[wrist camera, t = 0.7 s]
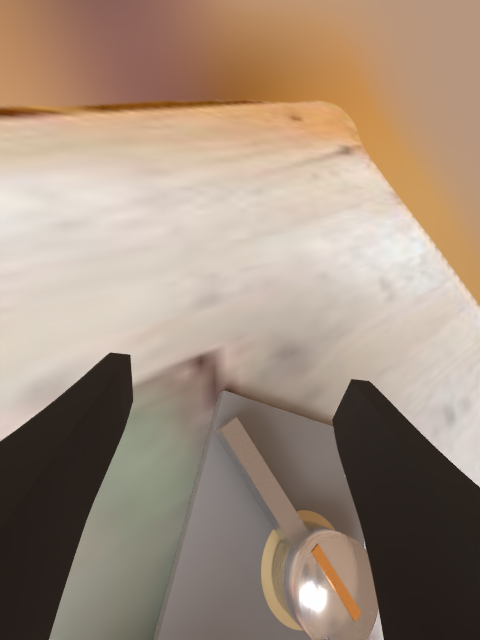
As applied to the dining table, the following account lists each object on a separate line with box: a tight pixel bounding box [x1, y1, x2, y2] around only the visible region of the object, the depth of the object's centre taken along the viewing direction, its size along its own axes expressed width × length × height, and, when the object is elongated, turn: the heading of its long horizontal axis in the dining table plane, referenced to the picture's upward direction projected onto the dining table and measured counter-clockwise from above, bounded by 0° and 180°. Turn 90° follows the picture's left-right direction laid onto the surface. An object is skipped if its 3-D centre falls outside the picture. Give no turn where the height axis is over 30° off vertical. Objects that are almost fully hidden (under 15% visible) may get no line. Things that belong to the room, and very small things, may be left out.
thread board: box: [153, 390, 364, 640], centre depth 21 cm, size 20×14×1 cm
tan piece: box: [213, 417, 378, 640], centre depth 20 cm, size 14×6×4 cm, turn 35°
